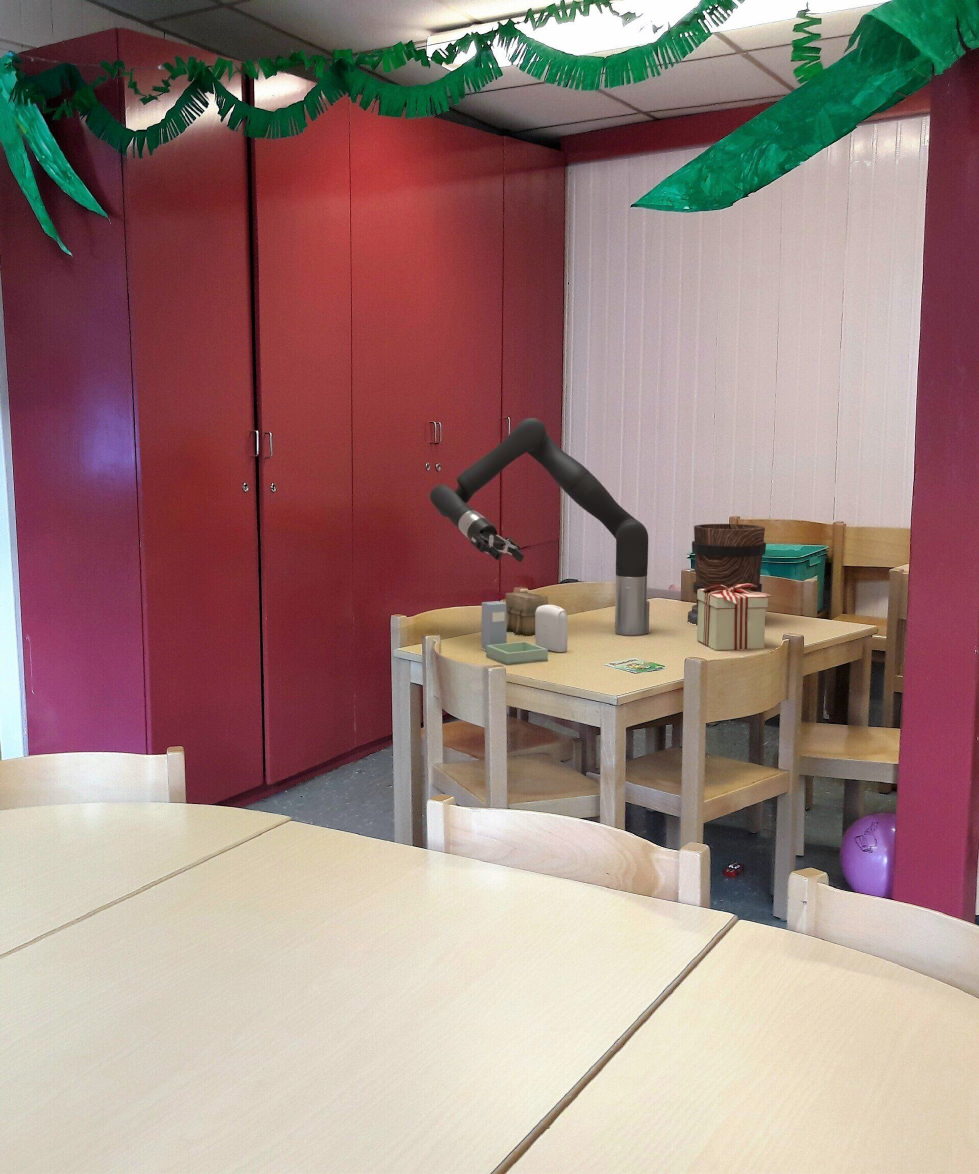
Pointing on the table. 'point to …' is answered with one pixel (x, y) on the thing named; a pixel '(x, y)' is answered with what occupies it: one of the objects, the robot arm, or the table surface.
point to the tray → (516, 653)
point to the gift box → (731, 617)
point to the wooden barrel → (727, 557)
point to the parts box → (493, 623)
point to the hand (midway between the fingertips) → (511, 558)
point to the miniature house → (522, 612)
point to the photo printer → (551, 628)
